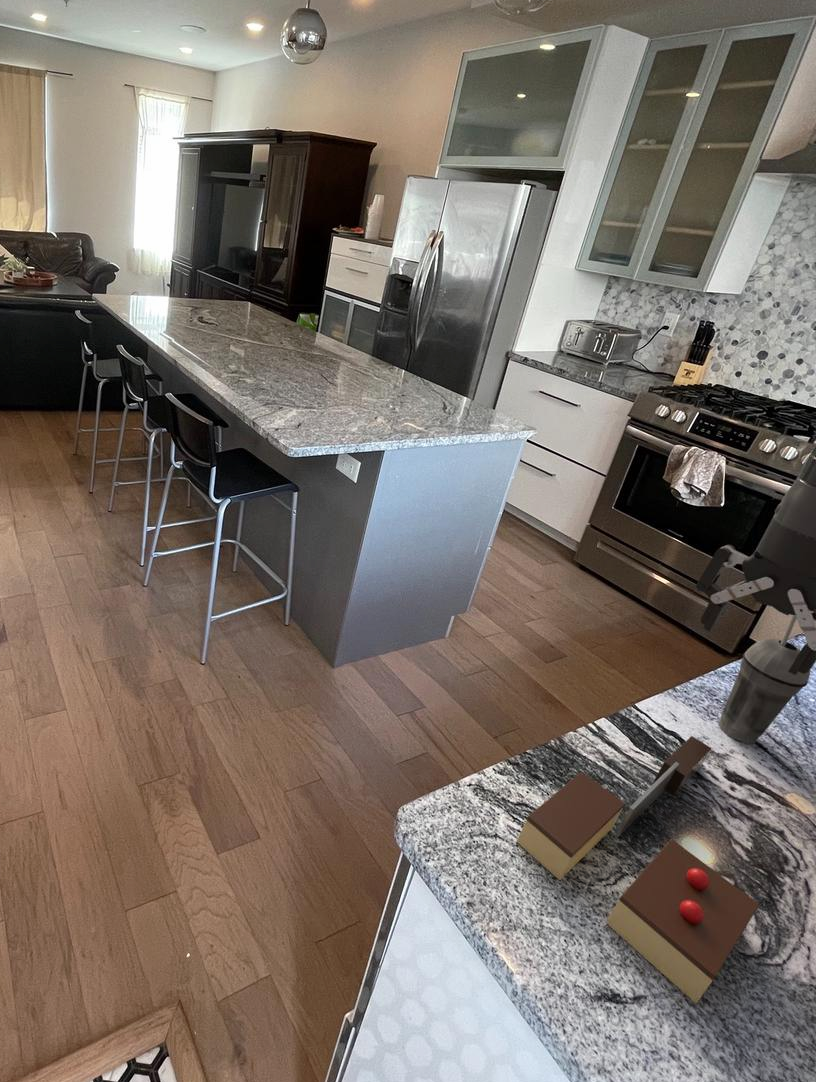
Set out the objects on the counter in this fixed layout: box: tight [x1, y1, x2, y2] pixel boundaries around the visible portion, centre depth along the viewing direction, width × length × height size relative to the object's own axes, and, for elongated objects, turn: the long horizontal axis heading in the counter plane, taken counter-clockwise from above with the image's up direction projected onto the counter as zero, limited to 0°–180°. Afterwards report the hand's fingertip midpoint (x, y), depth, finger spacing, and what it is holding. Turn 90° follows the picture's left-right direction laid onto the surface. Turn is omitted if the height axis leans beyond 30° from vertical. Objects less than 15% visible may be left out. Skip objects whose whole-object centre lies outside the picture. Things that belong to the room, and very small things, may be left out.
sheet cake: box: [605, 838, 760, 1004], centre depth 61 cm, size 12×8×6 cm, turn 126°
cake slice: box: [516, 771, 626, 881], centre depth 69 cm, size 12×5×4 cm, turn 126°
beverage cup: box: [718, 615, 811, 745], centre depth 87 cm, size 7×7×20 cm
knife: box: [614, 735, 712, 838], centre depth 76 cm, size 22×2×4 cm, turn 126°
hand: (749, 649), depth 73 cm, fingers open, 8 cm apart
